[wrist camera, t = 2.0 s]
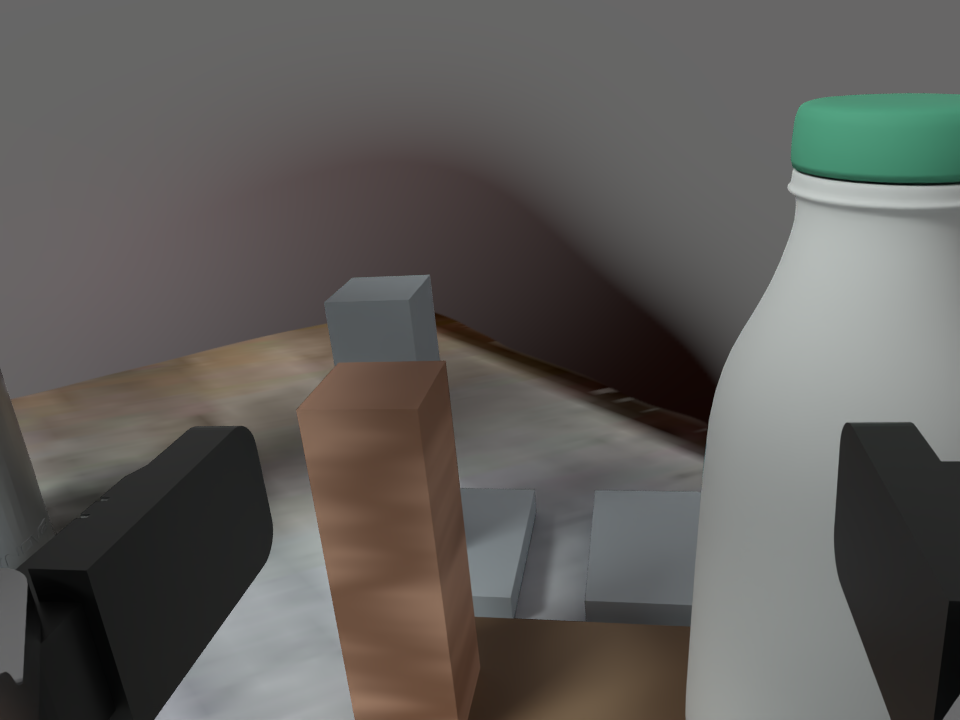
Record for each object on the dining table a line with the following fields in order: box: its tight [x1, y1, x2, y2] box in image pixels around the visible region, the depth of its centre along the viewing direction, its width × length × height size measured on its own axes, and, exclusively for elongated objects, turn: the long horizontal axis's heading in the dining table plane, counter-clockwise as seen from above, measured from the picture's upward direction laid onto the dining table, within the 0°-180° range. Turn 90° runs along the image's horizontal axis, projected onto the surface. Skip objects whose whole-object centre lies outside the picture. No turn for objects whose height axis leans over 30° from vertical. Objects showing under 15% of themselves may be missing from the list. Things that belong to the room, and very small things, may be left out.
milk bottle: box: [685, 93, 960, 720], centre depth 22 cm, size 8×8×20 cm
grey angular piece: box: [324, 275, 701, 627], centre depth 34 cm, size 18×8×13 cm, turn 80°
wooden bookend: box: [296, 361, 691, 720], centre depth 25 cm, size 20×9×13 cm, turn 80°
